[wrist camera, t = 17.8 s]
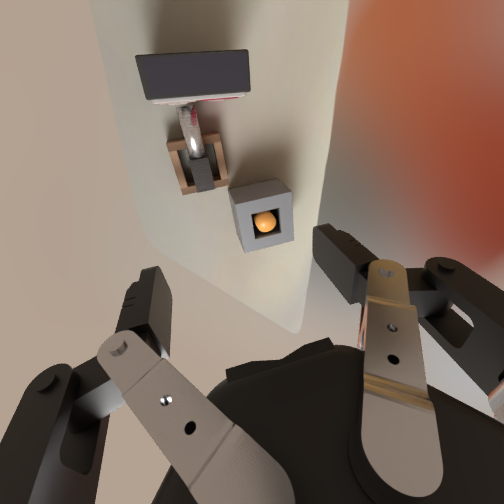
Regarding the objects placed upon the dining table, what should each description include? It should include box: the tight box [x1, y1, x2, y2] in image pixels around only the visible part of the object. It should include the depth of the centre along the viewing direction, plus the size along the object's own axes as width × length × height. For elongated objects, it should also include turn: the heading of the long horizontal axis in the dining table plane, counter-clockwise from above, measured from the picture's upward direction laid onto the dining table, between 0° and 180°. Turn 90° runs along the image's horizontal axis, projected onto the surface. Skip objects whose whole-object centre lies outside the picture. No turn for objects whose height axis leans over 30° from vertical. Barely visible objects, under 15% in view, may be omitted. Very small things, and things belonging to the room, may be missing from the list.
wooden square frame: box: [166, 131, 229, 195], centre depth 41 cm, size 8×8×3 cm
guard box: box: [228, 178, 294, 253], centre depth 46 cm, size 10×10×8 cm
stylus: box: [176, 105, 215, 193], centre depth 37 cm, size 3×3×12 cm
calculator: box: [135, 49, 251, 105], centre depth 30 cm, size 11×4×15 cm, turn 94°
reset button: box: [251, 210, 276, 232], centre depth 45 cm, size 4×4×5 cm
